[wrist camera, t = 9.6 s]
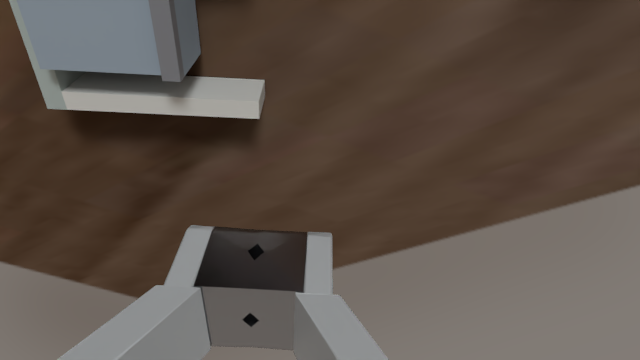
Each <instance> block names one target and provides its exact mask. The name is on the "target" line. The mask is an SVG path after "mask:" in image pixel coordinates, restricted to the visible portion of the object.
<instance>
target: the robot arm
mask: <svg viewBox="0 0 640 360" xmlns="http://www.w3.org/2000/svg"><path fill="white" fill-rule="evenodd" d="M306 249H307V250H306ZM332 279H333V278H332V235H331V233H324V232H308V235H307V232H296V231H275V230H254V229H241V228H229V227H216V226H215V227H209V226H197V225H191V226H190V227H189V228H188V229H187V230H186V232H185V235H184V237H183V240H182V242H181V244H180V247H179V249H178V252H177V254H176V256H175V259H174V261H173V264H172V266H171V269H170V271H169V273H168V276H167V278H166V281H165V283H164V285H156V286H154V287H153V288H152V289H150V290H149V291H148V292H146V293H145V294H144V295H142V296H141V297H140V298H138V299H137V300H136V301H134V302H133V303H132V304H130V305H129V306H128V307H126V308H125V309H124V310H122V311H121V312H120V313H118V314H117V315H116V316H114V317H113V318H112V319H110V320H109V321H108V322H107V323H105V324H104V325H102V326H101V327H100V328H99V329H97V330H96V331H94V332H93V333H92V334H91V335H89V336H88V337H86V338H85V339H84V340H83V341H81V342H80V343H79V344H77V345H76V346H74V347H73V348H72V349H71V350H69V351H68V352H66V353H65V354H64V355H62V356H61V357H60V358H58V359H57V360H202V358H203V357H204V356H205V355H206V354H207V353H208V352H209V350H210V349H211V346H228V347H258V348H271V349H283V350H293V351H294V354H295V356H296V359H297V360H389V359H388V358H387V357H386V355H385V354H384V353H383V351H382V350H381V349H380V347H379V346H378V345H377V343H376V342H375V341H374V339H373V338H372V337H371V336H370V334H369V333H368V332H367V330H366V329H365V328H364V326H363V325H362V324H361V322H360V321H359V320H358V318H357V317H356V316H355V314H354V313H353V312H352V310H351V309H350V308H349V306H348V305H347V304H346V303H345V301H344V300H343V298H341V296H340V295H333V280H332Z"/></svg>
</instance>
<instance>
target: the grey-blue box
mask: <svg viewBox="0 0 640 360" xmlns="http://www.w3.org/2000/svg"><path fill="white" fill-rule="evenodd" d="M17 3H18V6H19V9H20V12H21V15H22V18H23V21H24V23H25V26H26V29H27V32H28V35H29V38H30V41H31V44H32V46H33V49H34V52H35V55H36V58H37V61H38V64H39V67H40V69H48V70H68V71H87V72H106V73H125V74H145V75H161V76H162V81H170V82H181V81H182V79H183V78H184V77H185V75H186V74H187V72H188V71H189V69H190V68H191V67H192V65H193V64H194V62H195V61H196V60H197V58H198V57H199V55H200V54H201V50H200V41H199V32H198V23H197V14H196V5H195V0H17Z"/></svg>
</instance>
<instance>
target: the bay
mask: <svg viewBox="0 0 640 360" xmlns="http://www.w3.org/2000/svg"><path fill="white" fill-rule="evenodd" d="M9 2H10V4H11V7H12V10H13V13H14V16H15V18H16V21H17V24H18V27H19V30H20V32H21V35H22V38H23V41H24V44H25V47H26V49H27V52H28V55H29V58H30V61H31V63H32V66H33V69H34V72H35V75H36V77H37V80H38V83H39V86H40V89H41V91H42V94H43V97H44V100H45V103H46V105H47V108H48V109H64V110H84V111H105V112H126V113H146V114H167V115H188V116H208V117H229V118H249V119H259V118H260V114H261V110H262V106H263V102H264V98H265V80H255V79H236V78H216V77H197V76H185V77H184V78H183V79H182V81H181V82H170V81H162V76H161V75H145V74H125V73H106V72H87V71H68V70H48V69H40V67H39V64H38V61H37V58H36V55H35V52H34V49H33V46H32V44H31V41H30V38H29V35H28V32H27V29H26V26H25V23H24V21H23V18H22V15H21V12H20V9H19V6H18V3H17V0H9Z"/></svg>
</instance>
